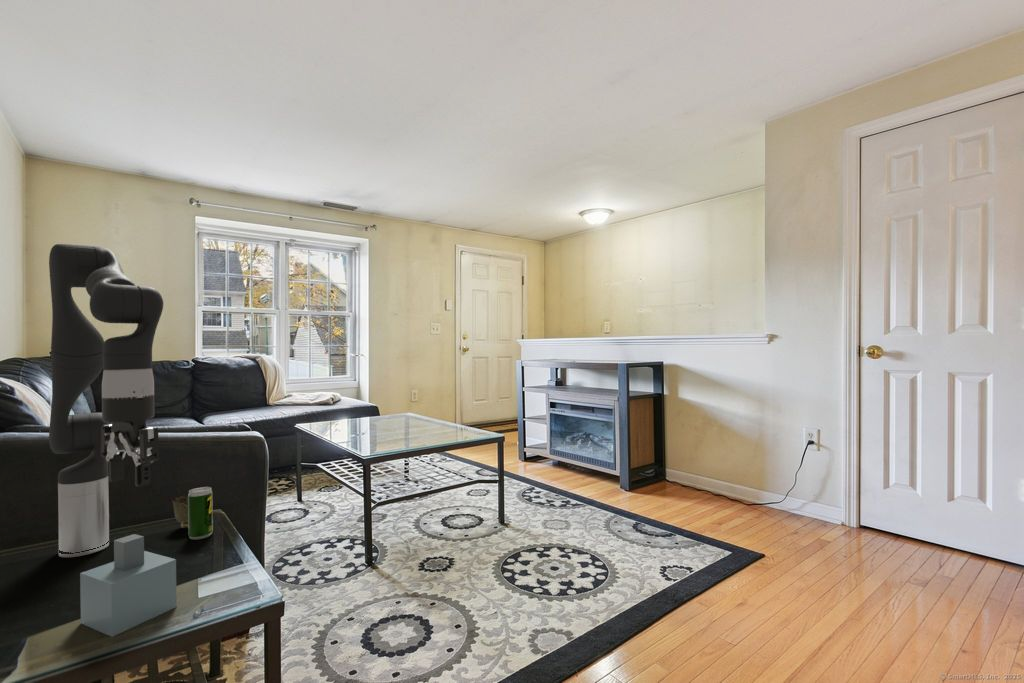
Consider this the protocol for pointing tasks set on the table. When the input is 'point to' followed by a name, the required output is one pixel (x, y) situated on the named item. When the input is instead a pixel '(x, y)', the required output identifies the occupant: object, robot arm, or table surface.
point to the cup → (181, 510)
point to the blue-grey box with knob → (127, 588)
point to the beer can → (200, 513)
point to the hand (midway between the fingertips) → (129, 483)
